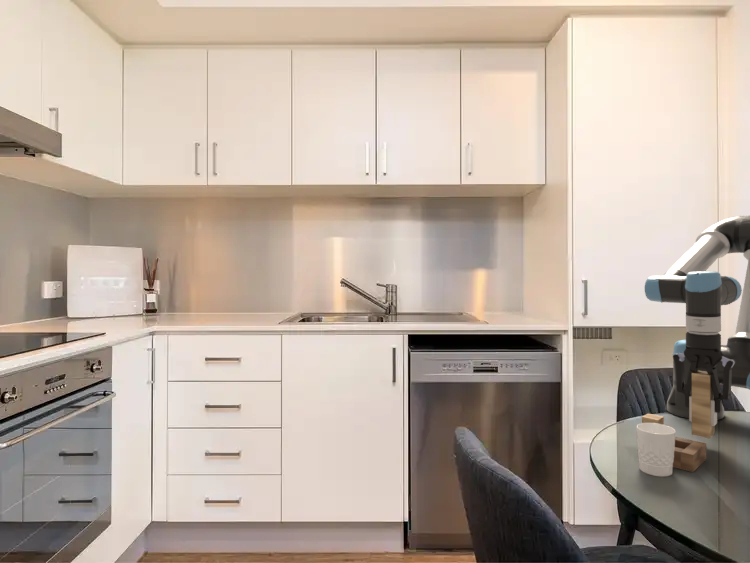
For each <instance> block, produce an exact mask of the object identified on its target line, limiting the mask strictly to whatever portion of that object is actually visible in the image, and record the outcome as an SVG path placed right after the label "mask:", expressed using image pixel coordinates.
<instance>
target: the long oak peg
mask: <svg viewBox="0 0 750 563" xmlns="http://www.w3.org/2000/svg"><path fill="white" fill-rule="evenodd" d="M713 398H714V396H713V392H712V388H711V375H708V373H707V372H706V371H697V372H696V373H692V422H691V435H693V436H697V437H703V438H707V439H711V438H712V437H713V436H714V435H715V426H711V399H713Z"/></svg>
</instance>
